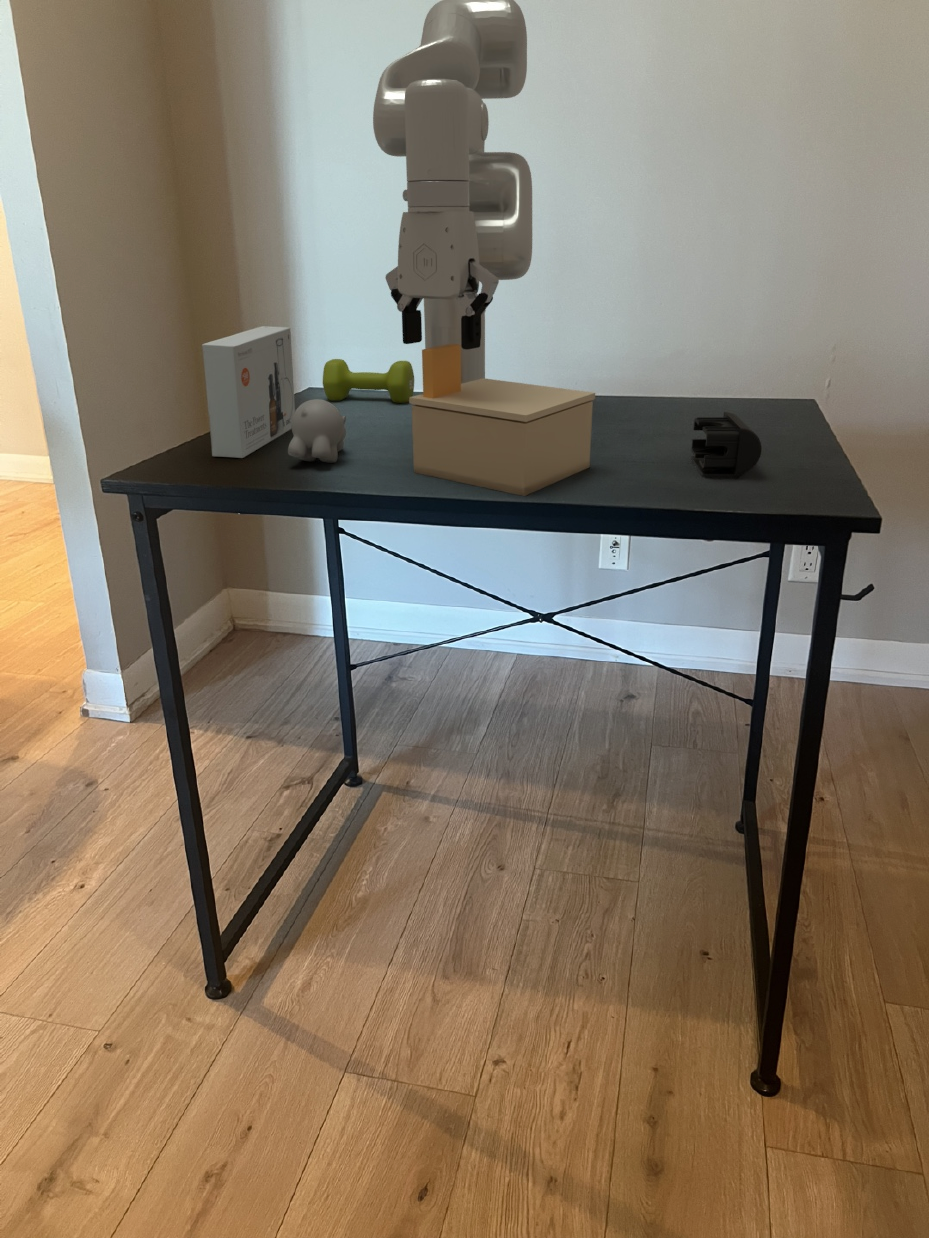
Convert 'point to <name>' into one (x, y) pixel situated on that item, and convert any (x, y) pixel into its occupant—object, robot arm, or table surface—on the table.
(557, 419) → the carton
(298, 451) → the white animal toy
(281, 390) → the skincare box
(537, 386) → the flap
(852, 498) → the table surface
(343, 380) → the dumbbell
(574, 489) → the table surface
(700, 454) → the end cap
